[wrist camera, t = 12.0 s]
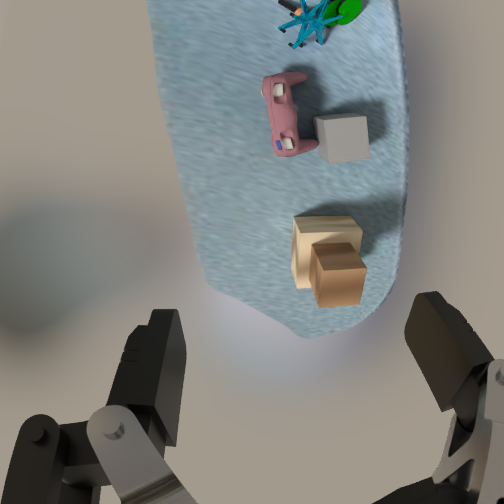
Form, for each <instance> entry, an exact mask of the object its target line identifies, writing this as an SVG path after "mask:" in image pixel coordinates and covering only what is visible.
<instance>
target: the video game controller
mask: <svg viewBox="0 0 504 504" xmlns="http://www.w3.org/2000/svg"><path fill="white" fill-rule="evenodd" d="M307 78H308V75H307V74H305V73H302V72H284V73H279V74H275V75H271V76H266V77H264V79H263V85H262V86H263V87H262V88H261V94H262V95H263V97H265V99H266V101H267V108H268V114H269V120H270V125H271V130H272V146H273V149H274V152H275V154H276V155H277V156H287V157H289V156H295V155H298V154H301V153H304V152H307V151H310V150H313V149H315V148H316V147H317V146H318V144H319V143H318V141H317V140H314V139H299V136H298V130H297V122H298V116H297V111H296V108H295V106H294V104H293V101H292V94H291V88H290V86H292V85H294V84H297V83H301V82H304V81H305V80H307Z"/></svg>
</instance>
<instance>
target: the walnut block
mask: <svg viewBox="0 0 504 504" xmlns="http://www.w3.org/2000/svg"><path fill="white" fill-rule="evenodd" d="M366 271H367V267H366V266H365V264H364V263H363V261H362V260H361V258H360V257H359V255H358V254H357V252H356V251H355V249H354V248H353V246H352V245H351V243H327V244H311V257H310V269H309V281H310V284H311V286H312V289H313V292H314V295H315V298H316V301H317V304H318V307H319V308H324V307H336V306H347V305H357V304H360V300H361V295H362V291H363V286H364V281H365V276H366Z"/></svg>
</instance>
